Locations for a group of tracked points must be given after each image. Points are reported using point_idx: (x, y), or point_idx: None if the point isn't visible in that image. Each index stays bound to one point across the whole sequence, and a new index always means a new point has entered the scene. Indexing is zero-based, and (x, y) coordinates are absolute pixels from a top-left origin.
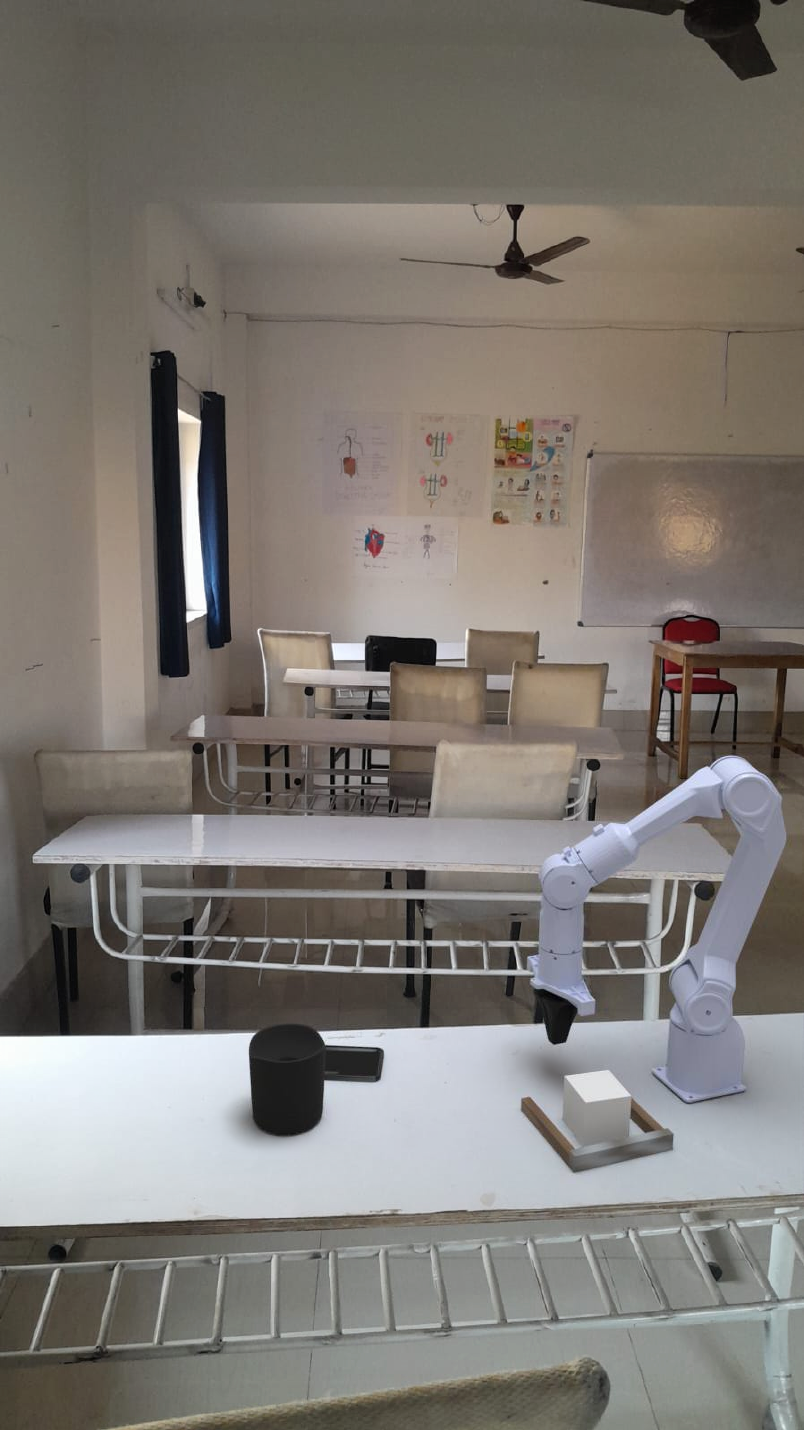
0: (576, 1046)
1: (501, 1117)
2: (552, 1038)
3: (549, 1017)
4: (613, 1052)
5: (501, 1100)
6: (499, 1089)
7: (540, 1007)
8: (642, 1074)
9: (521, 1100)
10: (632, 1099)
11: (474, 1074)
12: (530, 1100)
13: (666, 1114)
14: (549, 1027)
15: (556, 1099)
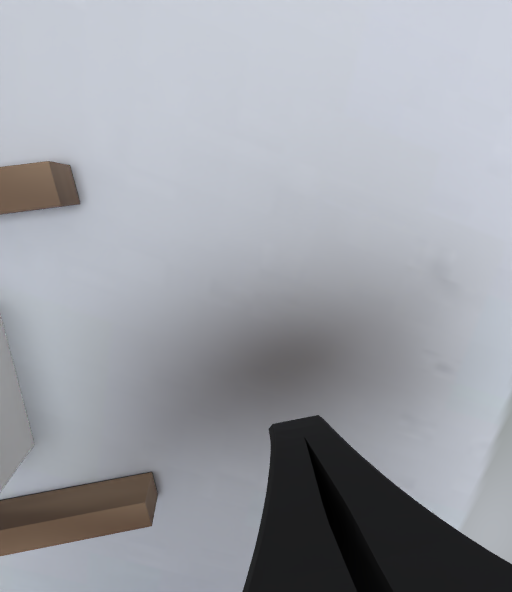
0: (411, 468)
1: (13, 56)
2: (273, 446)
3: (297, 575)
4: None
5: (143, 105)
6: (223, 127)
7: (486, 555)
8: (227, 582)
9: (51, 162)
10: (23, 549)
11: (351, 55)
12: (30, 198)
13: (20, 585)
14: (300, 484)
15: (127, 320)
